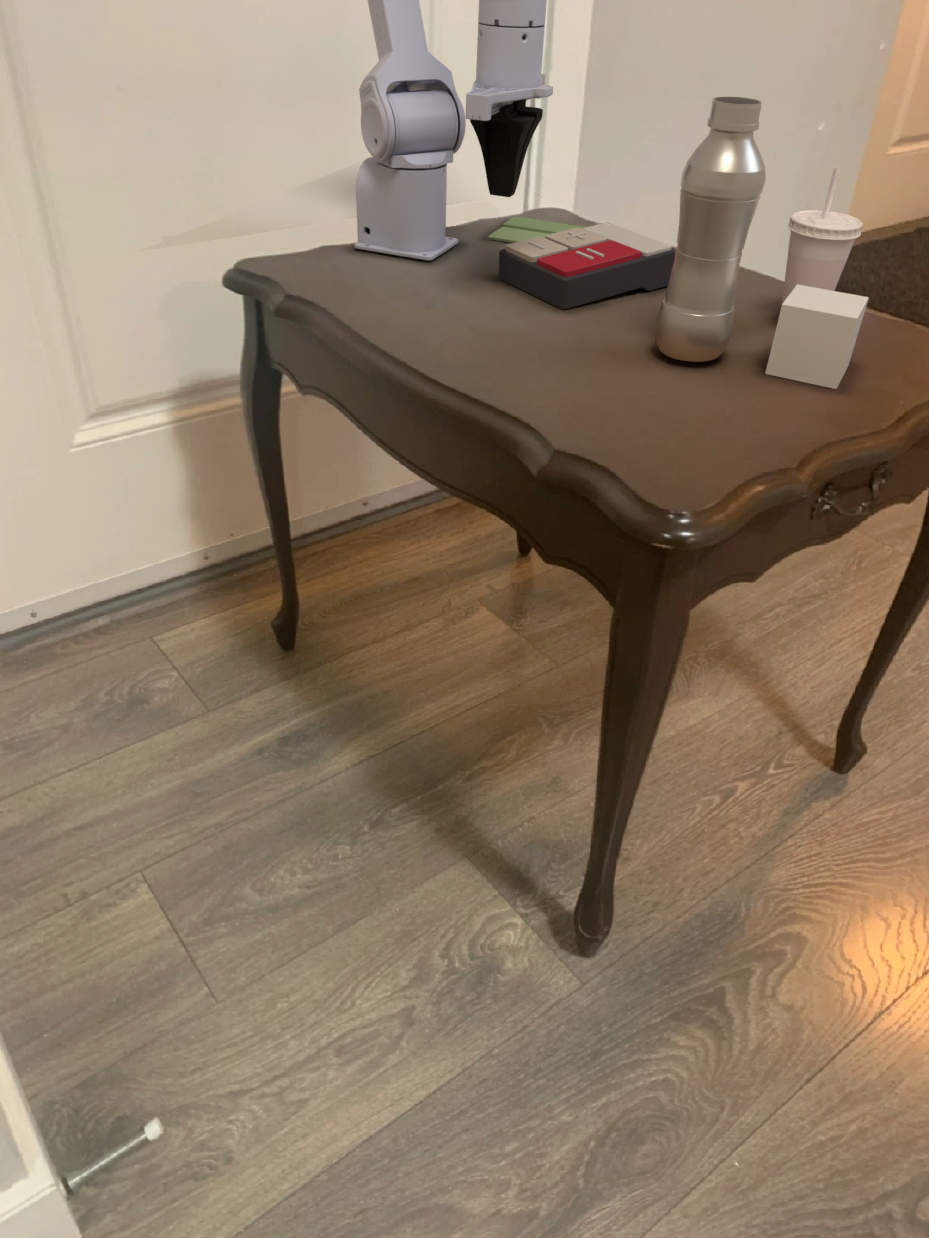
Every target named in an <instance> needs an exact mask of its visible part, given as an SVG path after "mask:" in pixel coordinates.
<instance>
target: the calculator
mask: <svg viewBox="0 0 929 1238" xmlns="http://www.w3.org/2000/svg"><path fill="white" fill-rule="evenodd" d="M584 227H585V228H583V229H582V228H573V229H569V230H565V231H561V232H557V233H552V234H548V235H546V236H545V238H543V237H536V238H532V239H527V240H523V241H519V242H515V243H506V244H505V246H504V248H501V249H500V250H499V251H498V279H499V280H500V281H502V282H505V283H507V284H508V285H511V286H513V287H515V288H517V289H519V290H521V291H523V292H525V293H527V294H530V295H531V296H533V297H534V298H535V297H536V298H537V299H539V300H542V301H544V302H546V303H548V304H549V305H552V306H554V307H556V308H559V309H561V310H569V309H572V308H576V307H579V306H582V305H586V304H590V303H593V302H597V301H600V300H604V299H607V298H610V297H614V296H617V295H618V296H619V295H621V294H624V293H629V292H633V291H635V290H639V289H640V290H643V291H645V292H651V291H654V290H655V291H656V290H658V289H661V288H665V287H668V283H669V279H670V275H671V272H672V268H673V264H674V260H675V252H676V248H674V247H672V245H671V244H668V243H665V242H662V241H660V240H658V239H655V238H652V237H649V236H647V235H644V234H641V233H639V232H635V231H632V230H630V229H628V228H624V227H622V226H619V225H617V224H615V223H611V222H602V223H598V224H594V225H590V226H584Z"/></svg>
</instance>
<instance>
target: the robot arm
mask: <svg viewBox="0 0 929 1238" xmlns="http://www.w3.org/2000/svg"><path fill="white" fill-rule="evenodd" d="M547 1H548V0H478V13H477V14H478V15H477V22H478V23H477V41H476V66H475V67H476V71H475V80H474V81H473V83H472V87H471V90H470V91H469V92H466V93H465V108H464V106H463V103H462V101H461V99H460V97H459V95H458V92H457V89H456V86H455V82H454V75H453V72H452V71H451V70H450V69H449V67H447V66H446V65H445V64H444V63H443V62H441V61H440V60H439V59H437V58H436V56H434V55H433V54H432V53H431V52H430V51H429V50H428V49H429V48H428V44H427V39H426V32H425V27H424V21H423V15H422V9H421V3H420V0H367V5H368V11H369V14H370V15H369V16H370V21H371V26H372V32H373V37H374V42H375V47H376V53H377V58H378V61H377V63H376V64H375V65H374V66H373V67H372V68H371V70H369V72H368V73H367V74H366V75H365V76H364V78H363V80H362V82H361V84H360V86H359V89H358V92H359V93H358V94H359V100H360V132H361V136H362V140H363V143H364V145H365V148H366V150H367V152H368V153H369V154H370V157H367V158H366V159H364V160H363V162H362V163H361V165H359V169H358V172H357V175H356V176H357V177H356V184H355V202H356V203H355V204H356V229H357V231H356V232H357V234H356V235H357V242H356V243H354V249H356V250H361V251H368V252H374V253H379V254H384V255H385V254H386V255H390V256H391V255H393V256H398V257H403V258H409V259H410V258H411V259H415V260H422V261H429V262H430V261H433V260H435V259H436V258H438V257H439V256H441V255H443V254H444V253H446V252H448V251H449V250H450V249H452V248H453V247H455V246H456V245H458V244H459V240H460V239H459V238H455V237H450V236H446V232H447V231H446V228H447V189H448V187H447V184H448V183H447V181H448V179H447V178H448V164H452V163H454V155H455V154H456V153H458V151H459V150H460V148H461V146H462V144H463V141H464V139H465V135H466V134H465V133H466V125H467V120H469V122H470V124H471V126H472V128H473V131H474V132H475V135H476V137H477V141H478V143H479V146H480V150H481V154H482V158H483V165H484V169H485V175H486V176H485V177H486V182H487V187H488V192H489V195H490V196H496V197H503V198H511V197H512V196H514V195H515V194H516V192H517V191H516V190H517V188H518V184H519V181H520V177H521V174H522V169H523V165H524V161H525V158H526V154H527V151H528V149H529V147H530V146H529V145H530V143H531V141H532V138H533V136H534V134H535V132H536V129H537V128H538V126H539V124H540V123H541V121H542V119H543V111H544V110H543V108H541V107H535V106H527V101H530V100H531V99H538V100H539V99H544V98H549V97H551V96H553V94H554V86H553V85H548V84H545V83H546V74H545V73H542V72H543V71H542V70H543V69H542V68H543V56H544V55H543V54H544V42H545V41H544V39H545V26H546V17H547V4H548V2H547Z"/></svg>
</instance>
